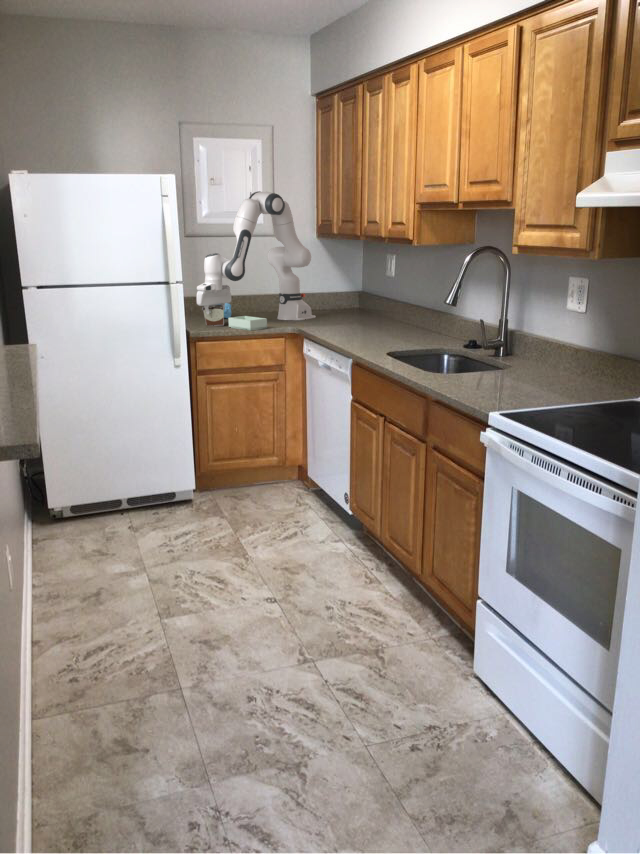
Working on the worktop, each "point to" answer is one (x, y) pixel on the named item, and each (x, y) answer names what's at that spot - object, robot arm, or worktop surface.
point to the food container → (214, 315)
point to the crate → (248, 323)
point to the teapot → (227, 311)
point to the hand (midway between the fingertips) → (215, 313)
